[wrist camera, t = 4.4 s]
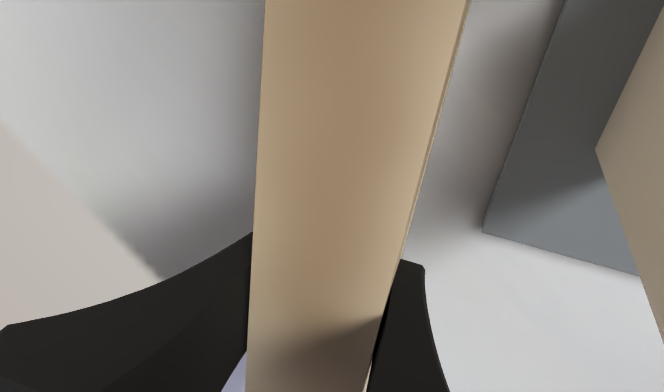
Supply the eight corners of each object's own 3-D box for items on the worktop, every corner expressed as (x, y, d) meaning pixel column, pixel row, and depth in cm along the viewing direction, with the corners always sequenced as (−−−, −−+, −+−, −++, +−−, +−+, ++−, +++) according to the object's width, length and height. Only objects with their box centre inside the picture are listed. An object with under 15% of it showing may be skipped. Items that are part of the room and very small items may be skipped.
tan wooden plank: (290, 352, 18) (241, 452, 15) (360, -199, 9) (278, -260, 6) (368, 380, 17) (335, 490, 14) (520, -180, 9) (528, -235, 5)
